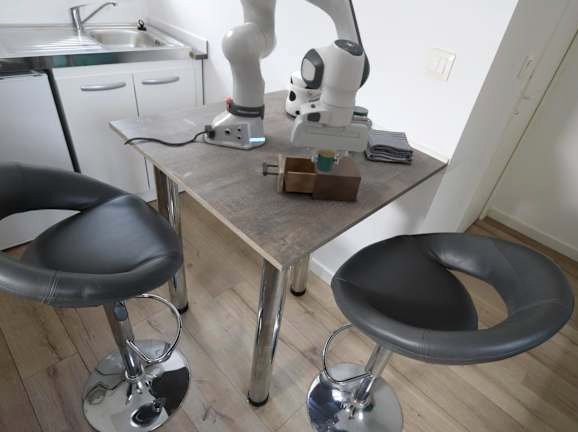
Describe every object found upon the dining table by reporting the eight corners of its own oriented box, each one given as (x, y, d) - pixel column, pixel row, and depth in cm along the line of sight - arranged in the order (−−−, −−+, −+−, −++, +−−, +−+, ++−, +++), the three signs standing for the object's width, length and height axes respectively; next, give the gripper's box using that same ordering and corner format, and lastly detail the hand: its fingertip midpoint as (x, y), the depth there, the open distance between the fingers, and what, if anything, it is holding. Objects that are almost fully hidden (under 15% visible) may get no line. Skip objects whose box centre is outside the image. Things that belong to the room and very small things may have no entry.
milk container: (321, 125, 157) (329, 84, 146) (283, 119, 156) (288, 78, 145) (321, 112, 171) (327, 73, 160) (285, 107, 170) (290, 68, 159)
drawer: (261, 191, 103) (263, 171, 99) (261, 171, 113) (263, 152, 109) (318, 195, 106) (322, 175, 102) (313, 175, 116) (316, 157, 112)
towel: (359, 144, 145) (363, 126, 140) (401, 148, 147) (407, 131, 143) (367, 161, 132) (372, 142, 128) (412, 165, 135) (419, 147, 130)
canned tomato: (362, 131, 157) (368, 107, 150) (362, 138, 150) (369, 113, 144) (344, 128, 157) (350, 104, 150) (344, 135, 150) (350, 110, 144)
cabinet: (312, 198, 106) (317, 173, 101) (308, 176, 117) (311, 153, 112) (355, 201, 108) (361, 177, 103) (346, 179, 119) (352, 156, 114)
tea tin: (316, 171, 94) (320, 155, 91) (314, 163, 98) (317, 147, 95) (333, 172, 95) (336, 156, 92) (329, 164, 98) (333, 149, 96)
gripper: (370, 113, 92) (357, 160, 100) (294, 104, 88) (287, 154, 96) (377, 122, 87) (363, 171, 95) (296, 113, 83) (289, 165, 91)
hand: (324, 162), depth 95 cm, fingers closed on tea tin, 4 cm apart
